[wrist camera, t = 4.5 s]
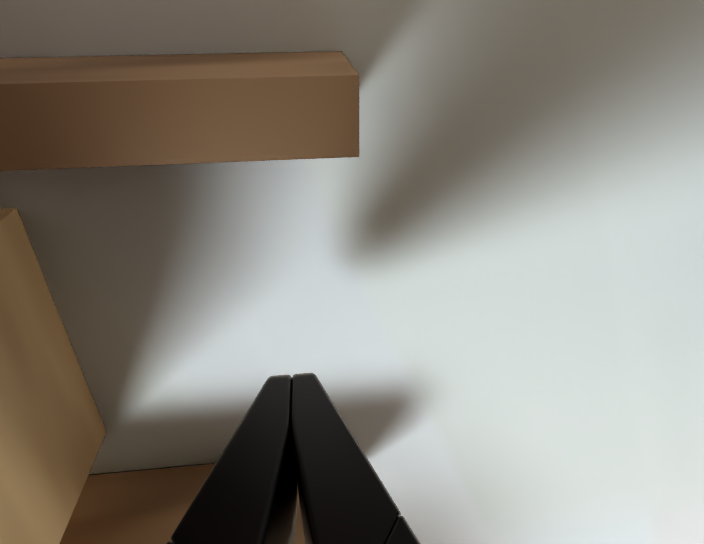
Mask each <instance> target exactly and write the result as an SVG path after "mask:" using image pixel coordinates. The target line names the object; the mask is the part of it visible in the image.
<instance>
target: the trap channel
mask: <svg viewBox="0 0 704 544" xmlns="http://www.w3.org/2000/svg"><path fill="white" fill-rule="evenodd" d="M341 157H359V74H358V73H357V72H356V70H355V69H354V68H353V66H352V65H351V64H350V62H349V61H348V59H347V58H346V57H345V55H344V54H343V53H342V51H327V52H278V53H228V54H178V55H129V56H79V57H29V58H0V171H11V170H36V169H62V168H87V167H113V166H138V165H163V164H189V163H214V162H240V161H265V160H290V159H316V158H341ZM214 465H215V464H206V465H196V466H185V467H174V468H163V469H152V470H142V471H131V472H120V473H109V474H99V475H88V477H87V479H86V482H85V484H84V487H83V489H82V491H81V494H80V496H79V498H78V501H77V503H76V506H75V508H74V510H73V513H72V515H71V517H70V520H69V522H68V525H67V527H66V529H65V532H64V534H63V536H62V539H61V541H60V544H166V543H167V542H169V541H171V536H172V534H173V532H174V531H175V529H176V528H177V526H178V524H179V523H180V521H181V519H182V518H183V516H184V514H185V513H186V511H187V510H188V508H189V506H190V505H191V503H192V501H193V500H194V498H195V496H196V495H197V493H198V492H199V490H200V488H201V487H202V485H203V483H204V482H205V480H206V479H207V477H208V475H209V474H210V472H211V470H212V469H213V467H214ZM294 544H305V537H304V531H303V524H302V518H301V511H300V503H299V495H298V499H297V514H296V525H295V536H294Z"/></svg>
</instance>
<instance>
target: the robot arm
mask: <svg viewBox="0 0 704 544" xmlns="http://www.w3.org/2000/svg"><path fill="white" fill-rule="evenodd" d="M298 495H299V503H300V511H301V518H302V524H303V531H304V537H305V544H420V542H419V541H418V539H417V538H416V536H415V535H414V533H413V531H412V530H411V528H410V527H409V525H408V523H407V522H406V520H405V519H404V517H403V516H400V511H399V509H398V508H397V506H396V504H395V503H394V501H393V500H392V498H391V496H390V495H389V493H388V491H387V490H386V488H385V487H384V485H383V483H382V482H381V480H380V478H379V477H378V475H377V474H376V472H375V470H374V469H373V467H372V465H371V464H370V462H369V461H368V459H367V457H366V456H365V454H364V453H363V451H362V449H361V448H360V446H359V444H358V443H357V441H356V440H355V438H354V436H353V435H352V433H351V431H350V430H349V428H348V427H347V425H346V423H345V422H344V420H343V418H342V417H341V415H340V414H339V412H338V410H337V409H336V407H335V406H334V404H333V402H332V401H331V399H330V397H329V396H328V394H327V393H326V391H325V389H324V388H323V386H322V384H321V383H320V381H319V380H318V378H317V376H316V375H315V374H313V373H304V374H295V375H293V377H291V376H290V375H279V376H271V377H269V378H268V379H267V381H266V382H265V384H264V385H263V387H262V389H261V390H260V392H259V394H258V395H257V397H256V398H255V400H254V402H253V403H252V405H251V407H250V408H249V410H248V412H247V413H246V415H245V416H244V418H243V420H242V421H241V423H240V425H239V426H238V428H237V430H236V431H235V433H234V434H233V436H232V438H231V439H230V441H229V443H228V444H227V446H226V447H225V449H224V451H223V452H222V454H221V456H220V457H219V459H218V461H217V462H216V464H215V465H214V467H213V469H212V470H211V472H210V474H209V475H208V477H207V479H206V480H205V482H204V483H203V485H202V487H201V488H200V490H199V492H198V493H197V495H196V496H195V498H194V500H193V501H192V503H191V505H190V506H189V508H188V510H187V511H186V513H185V514H184V516H183V518H182V519H181V521H180V523H179V524H178V526H177V528H176V529H175V531H174V532H173V534H172V536H171V541H169V542H167V543H166V544H294V536H295V525H296V514H297V499H298Z"/></svg>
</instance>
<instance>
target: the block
mask: <svg viewBox="0 0 704 544" xmlns="http://www.w3.org/2000/svg"><path fill="white" fill-rule="evenodd" d="M105 434H106V430H105V427H104V425H103V422H102V420H101V417H100V415H99V412H98V410H97V407H96V405H95V402H94V400H93V397H92V395H91V392H90V390H89V387H88V385H87V382H86V380H85V377H84V375H83V372H82V370H81V367H80V365H79V362H78V360H77V357H76V355H75V352H74V350H73V347H72V345H71V342H70V340H69V337H68V335H67V332H66V330H65V328H64V325H63V323H62V320H61V318H60V315H59V313H58V310H57V308H56V305H55V303H54V300H53V298H52V295H51V293H50V290H49V288H48V285H47V283H46V280H45V278H44V275H43V273H42V270H41V268H40V265H39V263H38V260H37V258H36V255H35V253H34V250H33V248H32V245H31V243H30V240H29V238H28V235H27V233H26V230H25V228H24V225H23V223H22V220H21V218H20V215H19V213H18V210H17V208H4V209H0V544H60V541H61V539H62V536H63V534H64V532H65V529H66V527H67V525H68V522H69V520H70V517H71V515H72V513H73V510H74V508H75V506H76V503H77V501H78V498H79V496H80V494H81V491H82V489H83V487H84V484H85V482H86V479H87V477H88V475H89V472H90V470H91V468H92V465H93V463H94V460H95V458H96V456H97V453H98V451H99V449H100V446H101V444H102V441H103V439H104V437H105Z"/></svg>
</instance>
